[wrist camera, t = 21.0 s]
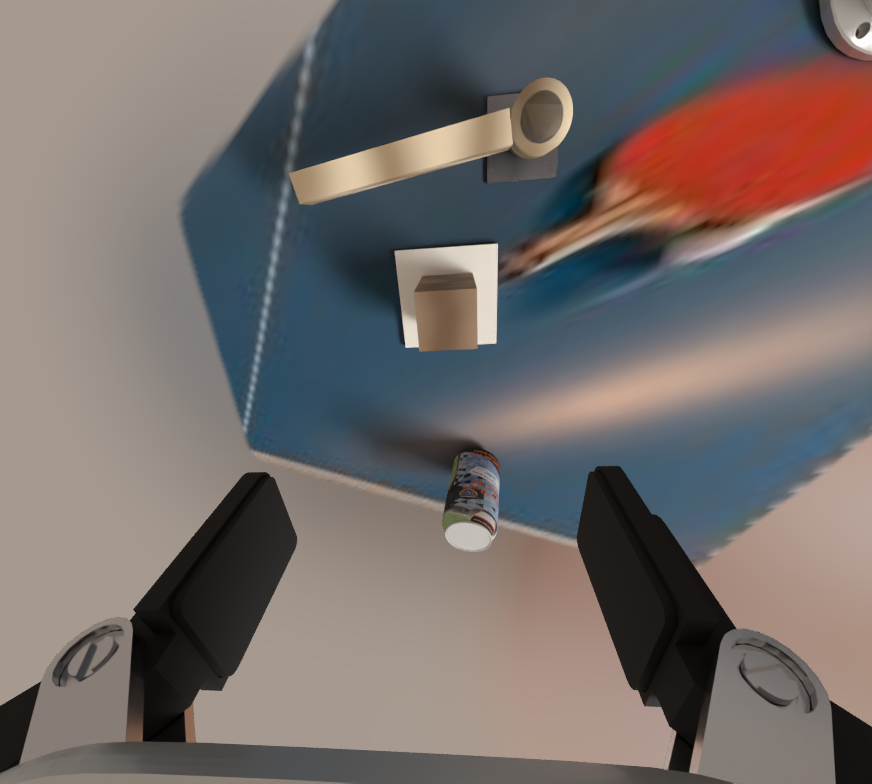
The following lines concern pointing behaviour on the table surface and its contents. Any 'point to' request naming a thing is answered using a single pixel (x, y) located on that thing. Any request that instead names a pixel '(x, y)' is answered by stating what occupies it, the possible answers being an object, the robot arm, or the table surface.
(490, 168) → the pivot plate
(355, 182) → the swing arm
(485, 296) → the tile
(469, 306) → the walnut block
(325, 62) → the table surface
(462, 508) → the beverage can
